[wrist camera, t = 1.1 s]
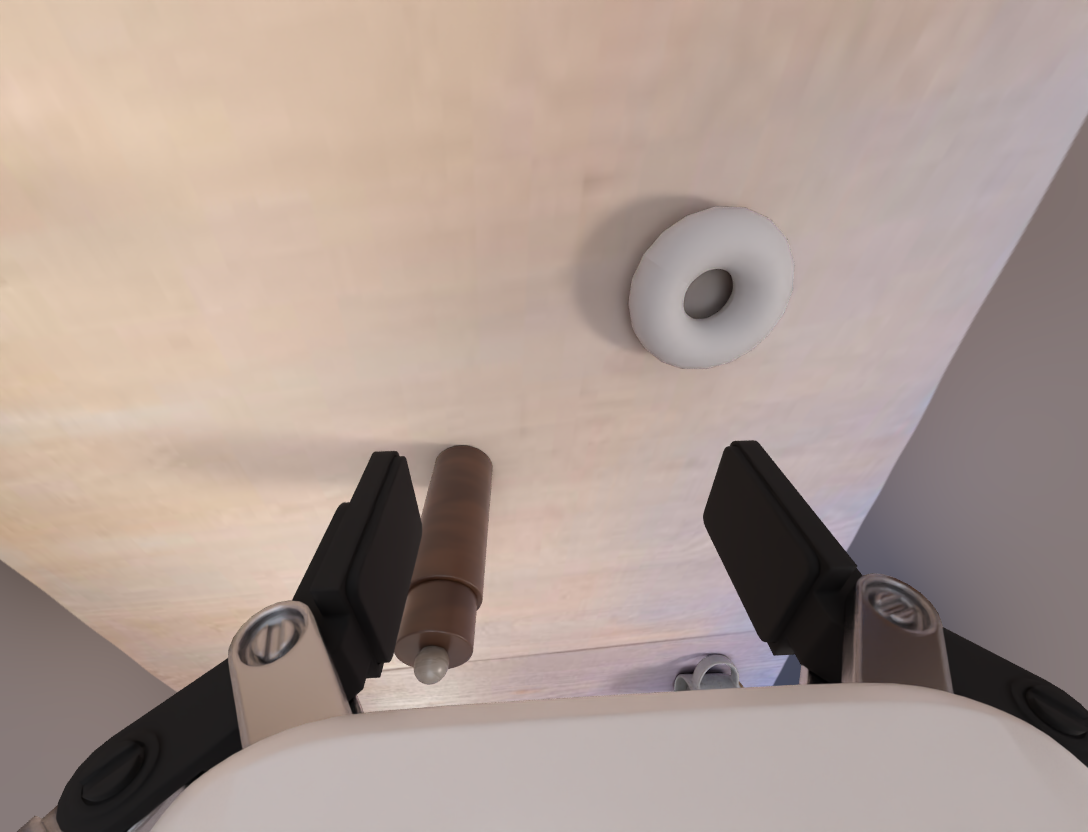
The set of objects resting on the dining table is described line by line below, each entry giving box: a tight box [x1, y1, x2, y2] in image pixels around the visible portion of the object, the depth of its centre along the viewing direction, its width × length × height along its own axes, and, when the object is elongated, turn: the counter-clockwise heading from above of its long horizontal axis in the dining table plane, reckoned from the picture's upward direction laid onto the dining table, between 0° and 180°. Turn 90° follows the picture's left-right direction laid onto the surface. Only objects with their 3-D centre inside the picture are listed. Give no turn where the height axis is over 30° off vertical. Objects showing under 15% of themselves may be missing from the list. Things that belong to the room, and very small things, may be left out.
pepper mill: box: [394, 446, 492, 685], centre depth 27 cm, size 5×5×16 cm
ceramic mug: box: [674, 654, 744, 692], centre depth 55 cm, size 11×8×8 cm
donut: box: [628, 207, 794, 369], centre depth 25 cm, size 10×4×10 cm
